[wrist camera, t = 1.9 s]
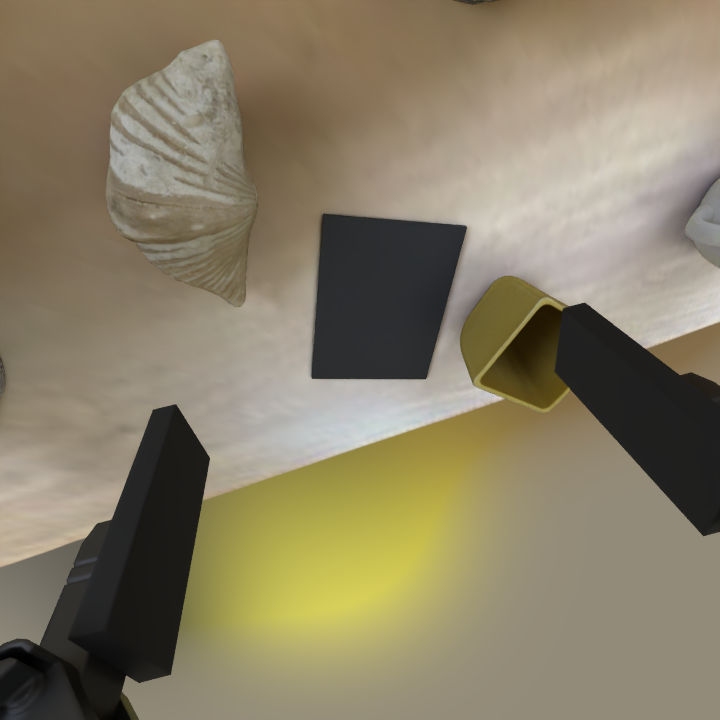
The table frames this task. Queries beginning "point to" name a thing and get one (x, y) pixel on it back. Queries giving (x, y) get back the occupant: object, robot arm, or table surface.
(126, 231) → the seashell
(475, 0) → the thermos
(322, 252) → the mat
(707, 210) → the teacup
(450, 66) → the table surface
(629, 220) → the table surface
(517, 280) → the flower pot
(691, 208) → the table surface
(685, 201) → the table surface
